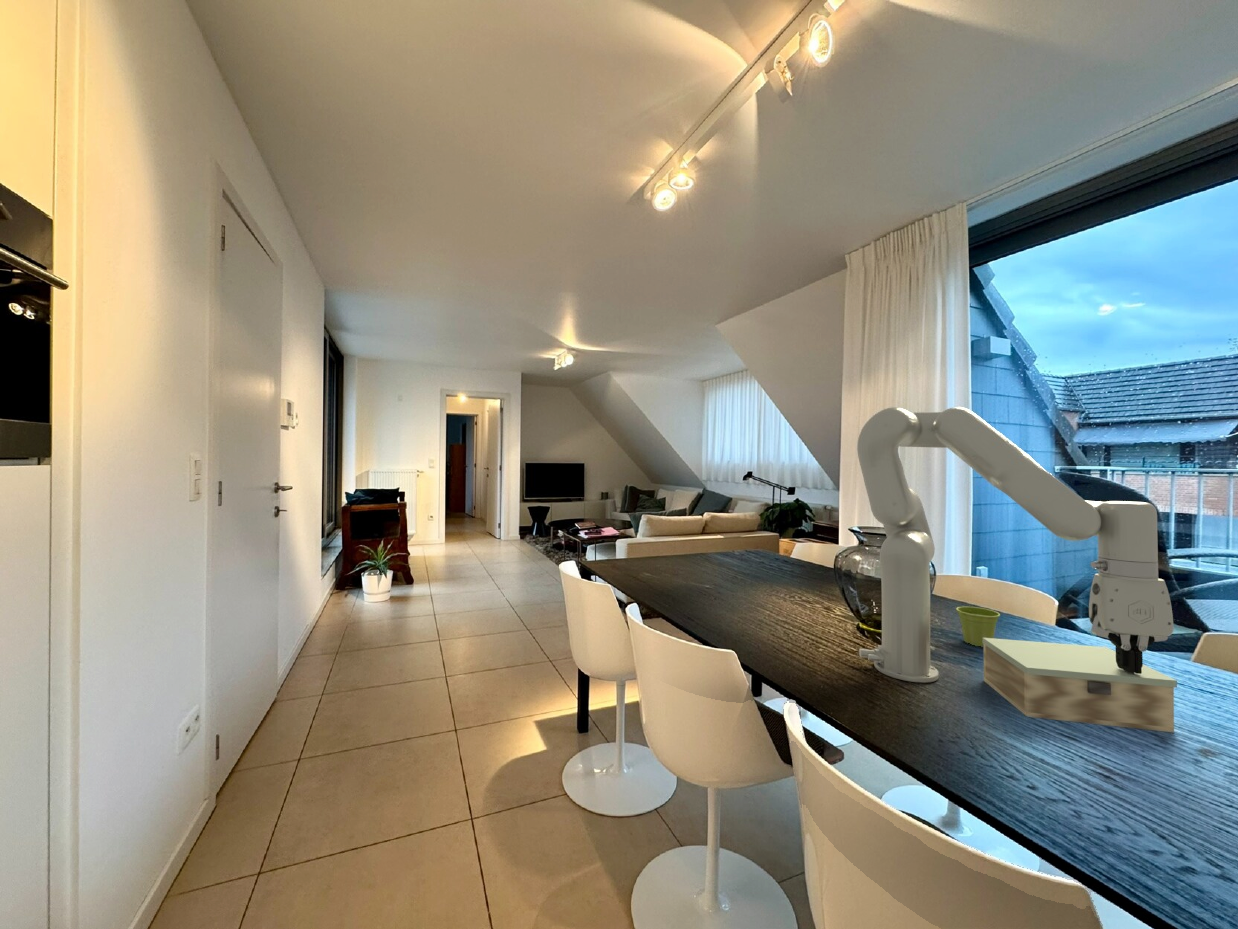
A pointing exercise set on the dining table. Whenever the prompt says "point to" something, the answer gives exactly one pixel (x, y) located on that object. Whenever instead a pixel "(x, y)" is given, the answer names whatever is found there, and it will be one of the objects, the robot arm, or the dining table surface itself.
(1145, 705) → the crate
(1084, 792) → the dining table surface
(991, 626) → the plant pot
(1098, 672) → the lid
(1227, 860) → the dining table surface
